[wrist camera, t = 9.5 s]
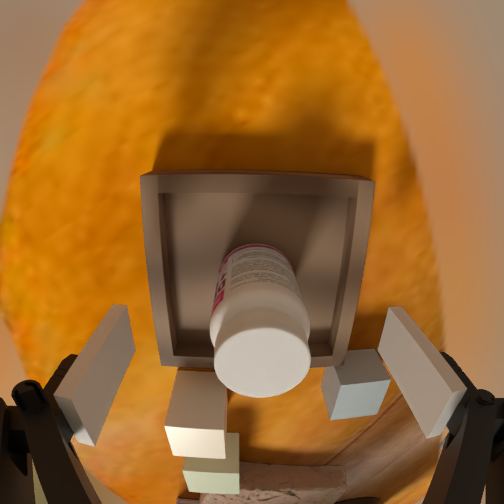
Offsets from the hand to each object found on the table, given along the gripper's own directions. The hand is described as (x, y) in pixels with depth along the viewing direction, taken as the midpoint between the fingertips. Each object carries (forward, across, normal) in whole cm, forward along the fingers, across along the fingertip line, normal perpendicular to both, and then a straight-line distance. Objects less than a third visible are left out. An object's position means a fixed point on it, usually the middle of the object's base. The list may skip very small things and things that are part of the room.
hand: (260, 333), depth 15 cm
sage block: (+7, +4, +19) cm, 21 cm away
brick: (+7, -3, +28) cm, 29 cm away
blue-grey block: (+7, -8, +8) cm, 13 cm away
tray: (+6, 0, -1) cm, 6 cm away
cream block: (+7, +4, +10) cm, 13 cm away
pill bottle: (+6, 0, 0) cm, 6 cm away
